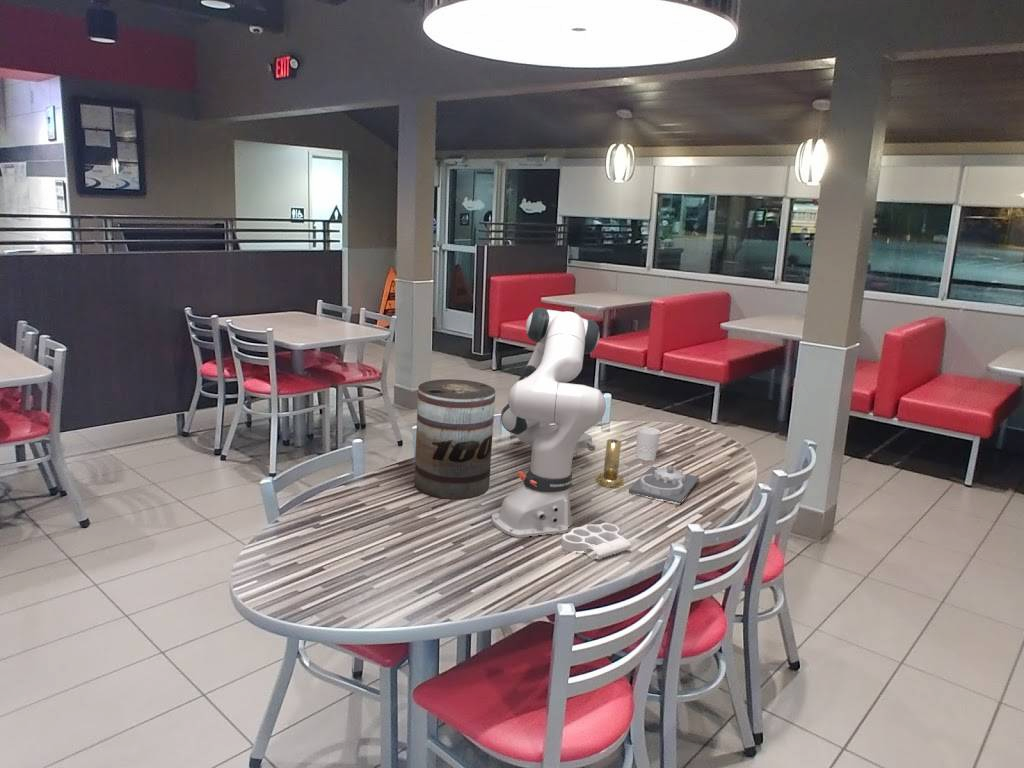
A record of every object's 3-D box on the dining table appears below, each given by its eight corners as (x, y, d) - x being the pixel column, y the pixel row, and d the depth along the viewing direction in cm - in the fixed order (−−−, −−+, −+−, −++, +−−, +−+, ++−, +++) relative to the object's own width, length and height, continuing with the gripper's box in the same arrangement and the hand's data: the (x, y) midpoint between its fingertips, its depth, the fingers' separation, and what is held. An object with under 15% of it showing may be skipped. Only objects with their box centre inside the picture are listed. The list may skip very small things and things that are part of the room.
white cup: (631, 458, 263) (634, 430, 261) (638, 452, 270) (641, 425, 268) (653, 463, 260) (656, 435, 257) (659, 457, 267) (663, 430, 264)
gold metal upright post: (607, 490, 232) (611, 446, 229) (590, 480, 239) (594, 438, 236) (628, 486, 237) (633, 443, 233) (611, 477, 244) (616, 435, 240)
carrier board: (679, 505, 225) (682, 488, 223) (628, 493, 231) (630, 476, 230) (698, 481, 246) (700, 465, 244) (651, 470, 252) (653, 455, 251)
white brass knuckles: (587, 566, 184) (549, 543, 195) (639, 550, 195) (599, 528, 206) (589, 554, 183) (550, 531, 195) (640, 538, 194) (601, 517, 205)
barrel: (465, 506, 213) (471, 404, 206) (399, 487, 223) (402, 389, 215) (502, 482, 233) (508, 388, 225) (440, 466, 242) (444, 375, 235)
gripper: (532, 435, 245) (564, 447, 235) (573, 425, 259) (605, 436, 250) (530, 454, 246) (562, 466, 237) (571, 443, 261) (603, 454, 251)
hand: (584, 451), depth 243 cm, fingers open, 8 cm apart
